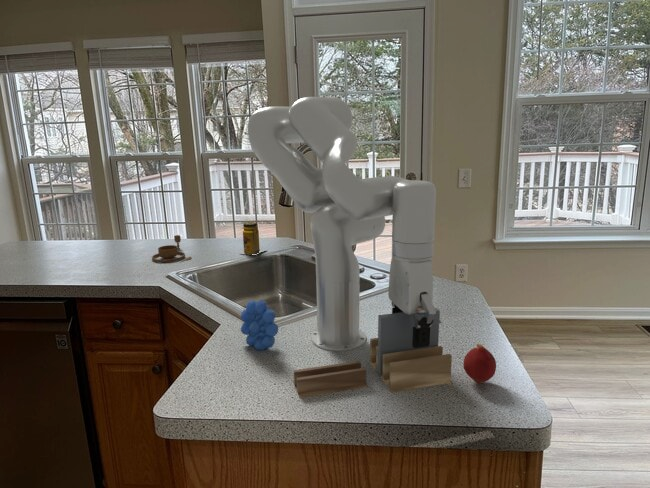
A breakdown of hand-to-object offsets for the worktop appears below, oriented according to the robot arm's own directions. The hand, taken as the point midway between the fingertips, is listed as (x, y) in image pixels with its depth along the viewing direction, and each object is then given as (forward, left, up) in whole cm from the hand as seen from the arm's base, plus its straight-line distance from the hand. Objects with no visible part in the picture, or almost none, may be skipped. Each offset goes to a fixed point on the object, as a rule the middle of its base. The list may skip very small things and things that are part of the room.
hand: (409, 335), depth 89 cm
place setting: (-106, -48, -9) cm, 117 cm away
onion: (+6, +12, -9) cm, 16 cm away
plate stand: (0, -16, -8) cm, 18 cm away
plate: (0, 0, -7) cm, 7 cm away
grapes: (-19, -26, -9) cm, 33 cm away
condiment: (-101, -19, -9) cm, 103 cm away
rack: (0, 0, -8) cm, 8 cm away
